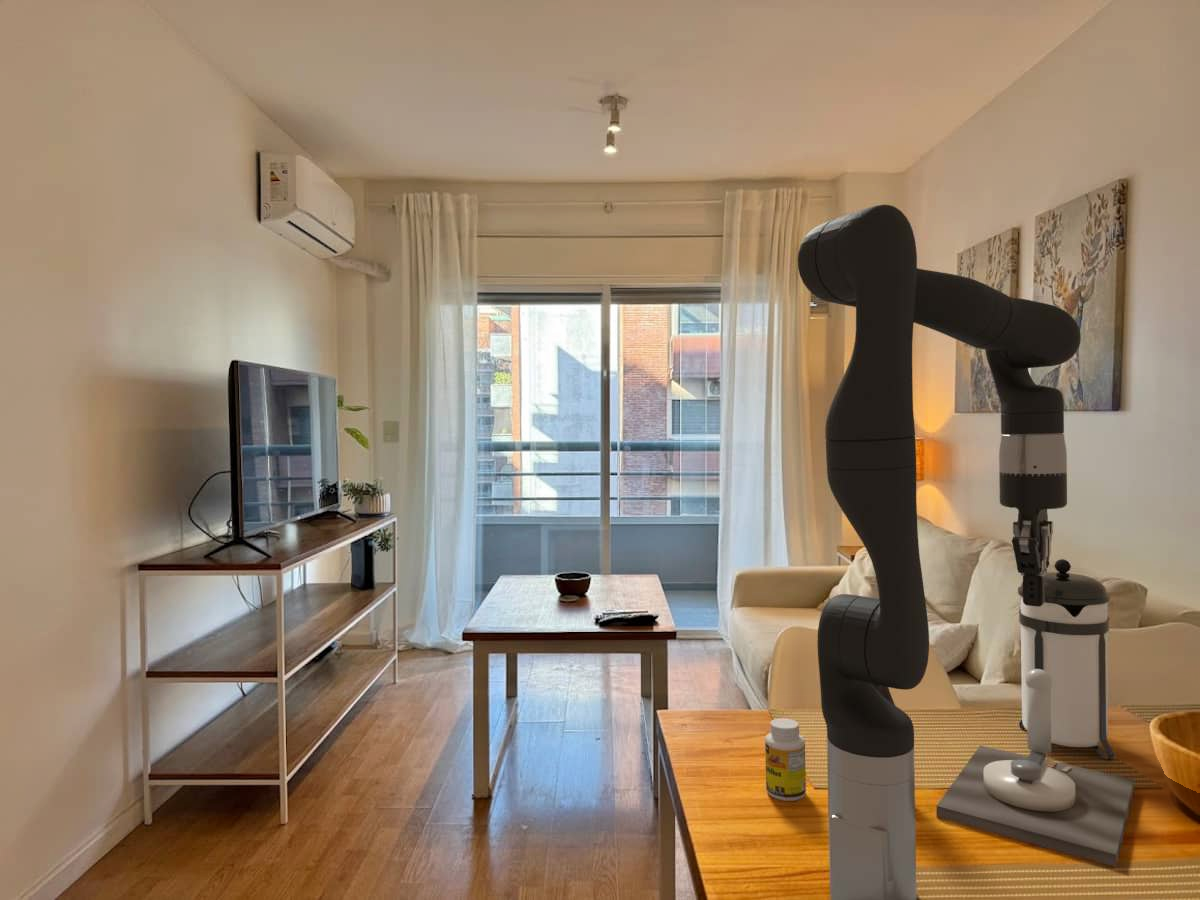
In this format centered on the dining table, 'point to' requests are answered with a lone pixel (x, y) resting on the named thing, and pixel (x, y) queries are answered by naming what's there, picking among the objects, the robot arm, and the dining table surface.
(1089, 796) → the dial board
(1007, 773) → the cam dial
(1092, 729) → the coffee press
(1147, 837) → the dining table surface
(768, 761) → the supplement bottle
